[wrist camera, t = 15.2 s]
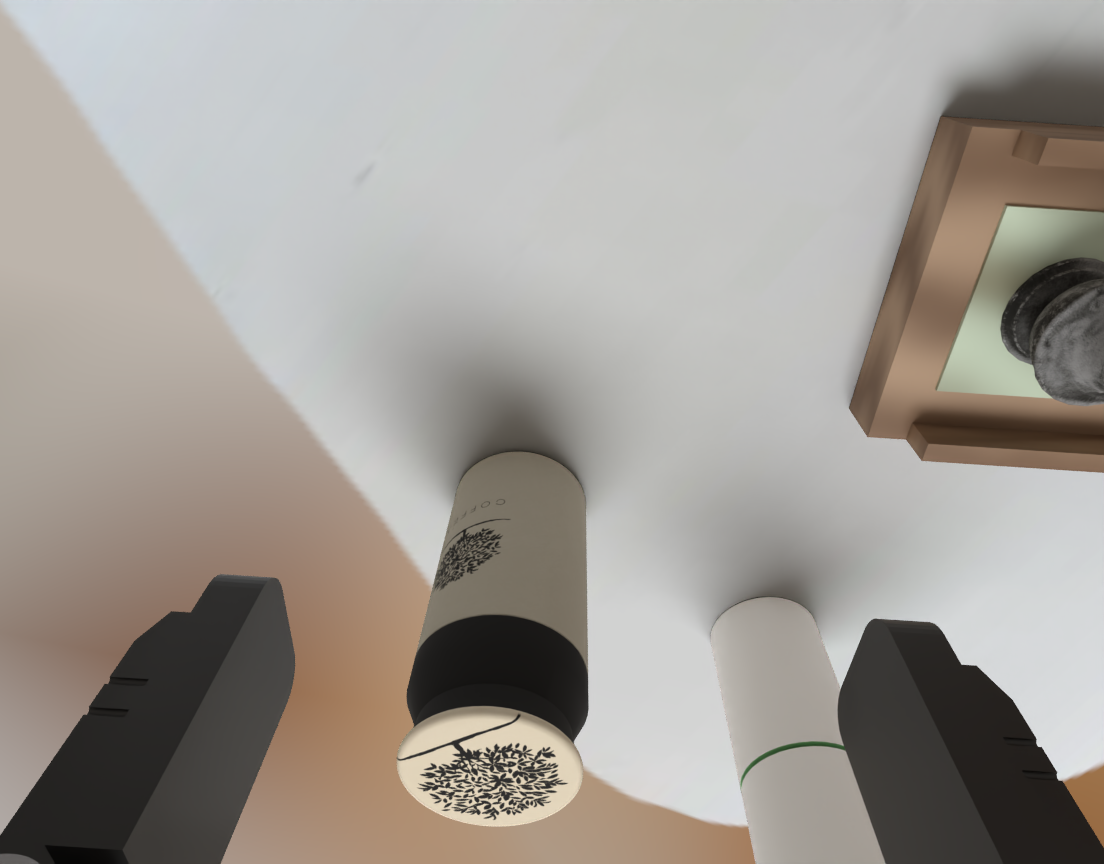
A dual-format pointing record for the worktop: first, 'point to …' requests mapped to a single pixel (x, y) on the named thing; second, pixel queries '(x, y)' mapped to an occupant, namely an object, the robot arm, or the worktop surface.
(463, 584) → the travel mug
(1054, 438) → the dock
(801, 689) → the cylindrical container
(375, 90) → the worktop surface
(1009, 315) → the salt shaker
